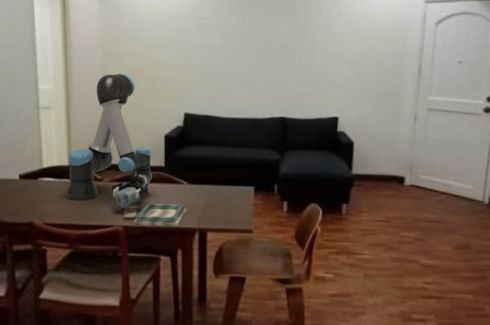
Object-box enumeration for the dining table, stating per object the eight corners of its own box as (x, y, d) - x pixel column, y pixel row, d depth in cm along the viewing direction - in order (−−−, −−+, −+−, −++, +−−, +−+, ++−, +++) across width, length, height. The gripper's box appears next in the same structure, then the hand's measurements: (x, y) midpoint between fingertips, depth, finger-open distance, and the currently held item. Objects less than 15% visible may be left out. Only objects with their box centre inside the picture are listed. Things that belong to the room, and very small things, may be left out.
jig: (134, 224, 238) (133, 216, 237) (146, 210, 260) (146, 203, 259) (177, 226, 237) (177, 218, 236) (186, 211, 258) (186, 204, 258)
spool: (128, 204, 248) (123, 183, 250) (112, 210, 252) (108, 189, 254) (147, 204, 260) (142, 184, 262) (131, 210, 264) (127, 191, 266)
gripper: (159, 191, 274) (149, 203, 252) (115, 188, 275) (101, 200, 253) (160, 176, 272) (149, 187, 250) (115, 173, 274) (101, 184, 252)
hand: (125, 194), depth 252 cm, fingers closed on spool, 10 cm apart
